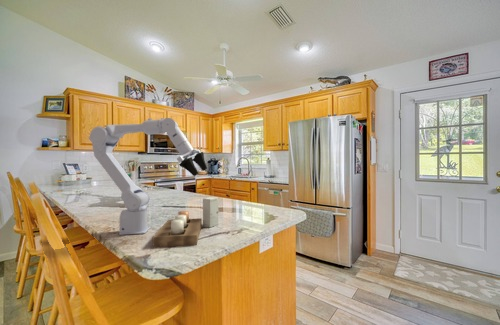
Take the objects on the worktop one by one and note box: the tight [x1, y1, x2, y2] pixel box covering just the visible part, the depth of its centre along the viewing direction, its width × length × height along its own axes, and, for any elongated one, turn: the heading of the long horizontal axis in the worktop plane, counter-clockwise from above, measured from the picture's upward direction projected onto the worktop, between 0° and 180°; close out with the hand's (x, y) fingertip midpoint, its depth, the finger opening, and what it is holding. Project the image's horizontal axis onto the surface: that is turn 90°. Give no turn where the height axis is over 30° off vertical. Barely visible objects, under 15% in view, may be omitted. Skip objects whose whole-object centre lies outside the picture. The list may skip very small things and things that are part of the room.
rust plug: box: [177, 210, 190, 222], centre depth 90 cm, size 4×4×4 cm
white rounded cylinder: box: [171, 219, 184, 234], centre depth 76 cm, size 4×4×4 cm
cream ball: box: [174, 214, 186, 227], centre depth 83 cm, size 4×4×4 cm
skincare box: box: [202, 196, 219, 228], centre depth 95 cm, size 6×4×12 cm
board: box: [152, 217, 203, 248], centre depth 83 cm, size 14×22×3 cm, turn 9°
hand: (201, 172), depth 89 cm, fingers open, 7 cm apart
